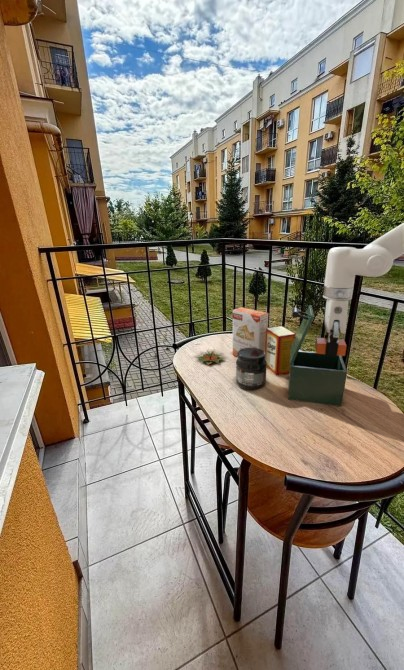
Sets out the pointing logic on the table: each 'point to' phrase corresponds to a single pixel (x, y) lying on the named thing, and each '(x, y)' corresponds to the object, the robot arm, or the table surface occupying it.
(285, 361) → the baking soda box
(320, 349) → the block
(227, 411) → the table surface
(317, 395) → the bin
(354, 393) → the table surface
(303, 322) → the bin lid
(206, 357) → the green red plant
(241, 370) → the supplement container
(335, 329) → the robot arm
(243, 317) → the cracker box
